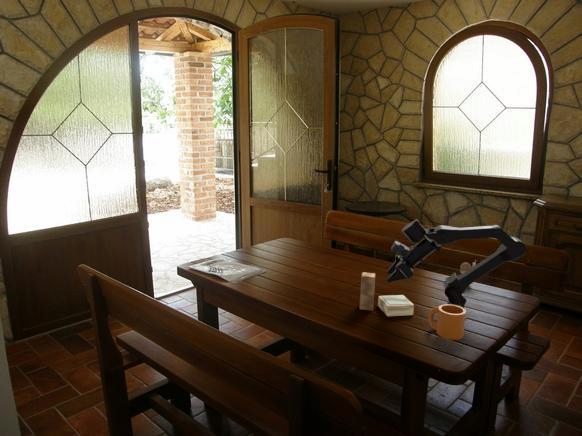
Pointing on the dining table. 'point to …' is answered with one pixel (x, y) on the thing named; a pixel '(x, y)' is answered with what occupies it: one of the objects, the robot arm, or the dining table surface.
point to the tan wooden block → (367, 291)
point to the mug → (448, 321)
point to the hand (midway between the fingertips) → (387, 277)
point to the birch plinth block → (395, 305)
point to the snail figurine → (466, 267)
